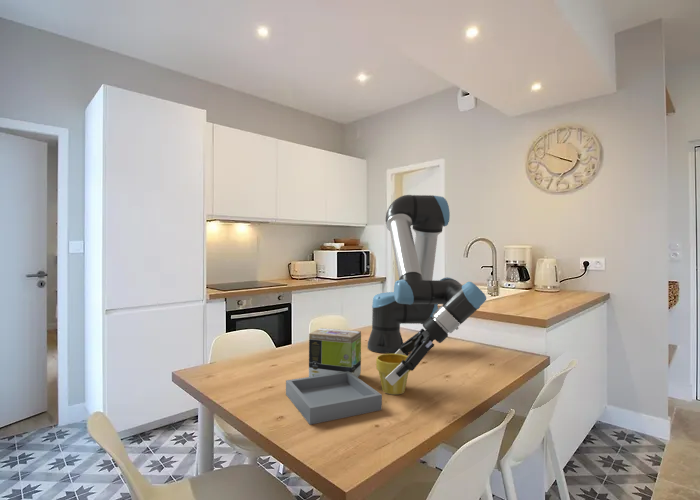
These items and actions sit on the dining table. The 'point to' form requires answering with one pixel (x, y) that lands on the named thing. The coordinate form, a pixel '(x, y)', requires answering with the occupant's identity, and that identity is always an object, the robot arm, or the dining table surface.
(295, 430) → the dining table surface
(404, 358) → the plant pot
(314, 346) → the tea box
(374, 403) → the serving tray
